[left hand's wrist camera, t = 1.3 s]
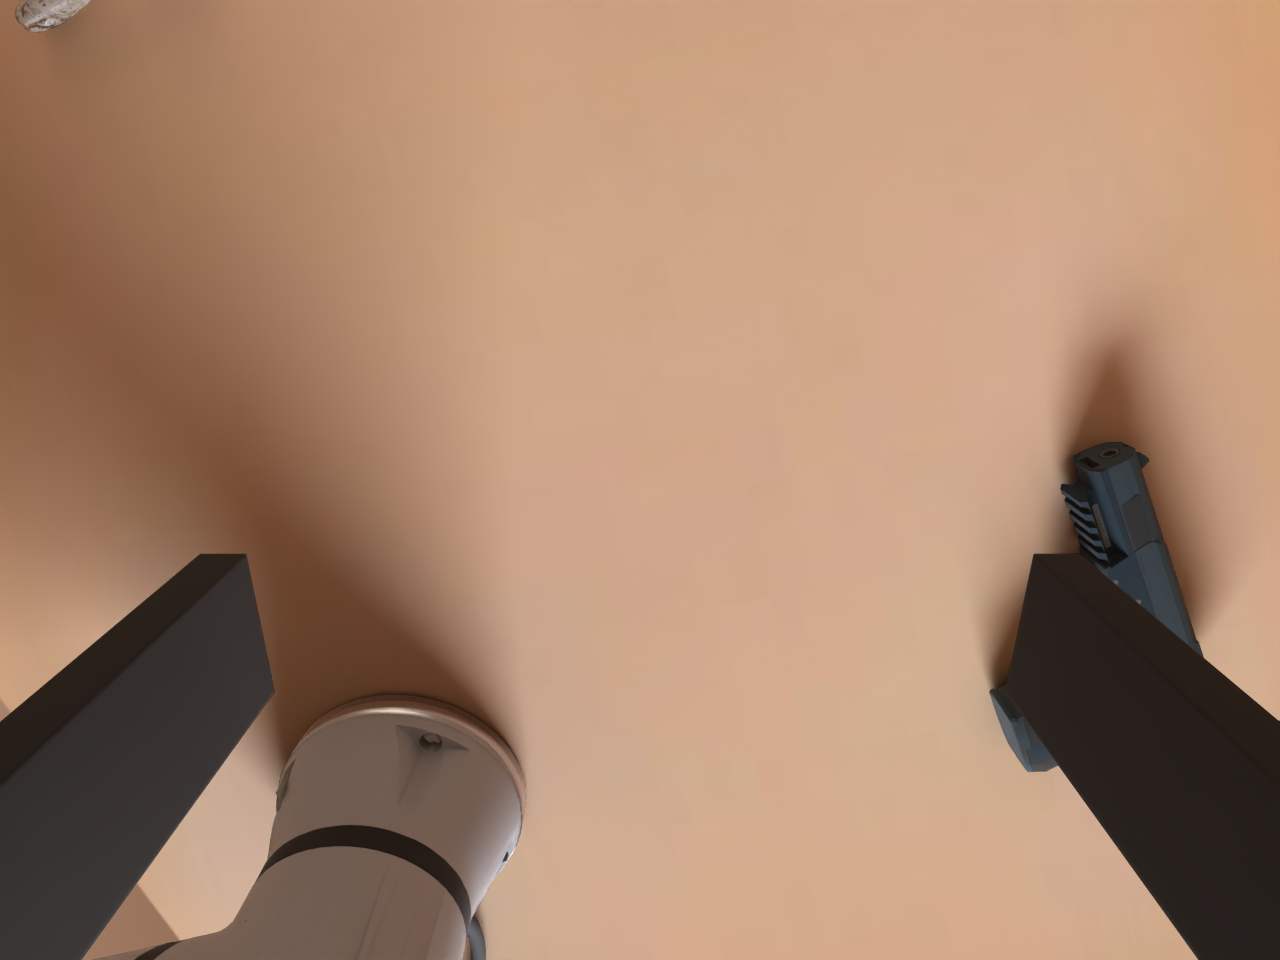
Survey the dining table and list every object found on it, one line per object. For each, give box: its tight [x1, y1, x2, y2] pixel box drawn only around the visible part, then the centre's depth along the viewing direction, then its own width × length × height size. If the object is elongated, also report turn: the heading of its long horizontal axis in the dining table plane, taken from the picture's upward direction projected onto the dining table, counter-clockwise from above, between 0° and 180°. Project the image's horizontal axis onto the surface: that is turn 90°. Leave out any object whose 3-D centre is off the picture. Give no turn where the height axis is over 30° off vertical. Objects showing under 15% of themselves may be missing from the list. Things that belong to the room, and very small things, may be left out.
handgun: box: [990, 442, 1204, 772], centre depth 43 cm, size 3×17×12 cm
